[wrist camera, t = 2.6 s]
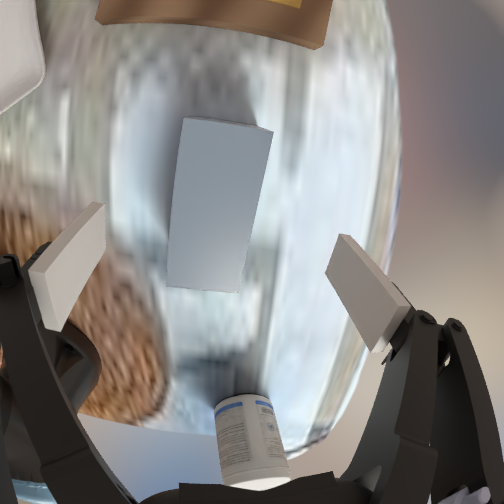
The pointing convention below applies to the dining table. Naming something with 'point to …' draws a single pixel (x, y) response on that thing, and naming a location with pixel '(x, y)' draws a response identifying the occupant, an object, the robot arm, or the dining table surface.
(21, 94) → the salad plate
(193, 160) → the block
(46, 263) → the robot arm
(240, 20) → the board
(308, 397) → the dining table surface
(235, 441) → the supplement tub
